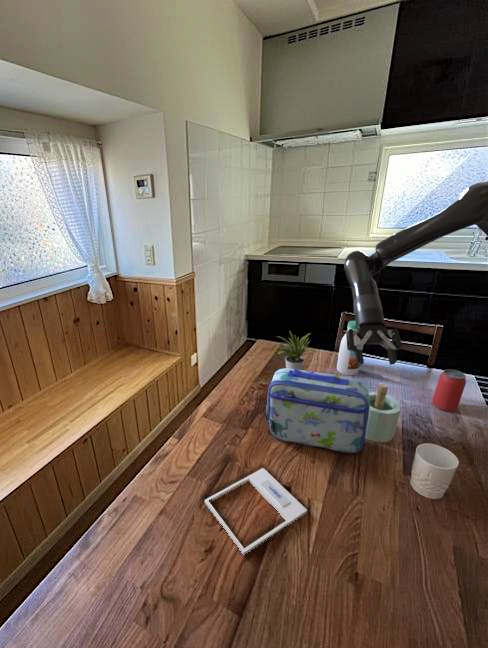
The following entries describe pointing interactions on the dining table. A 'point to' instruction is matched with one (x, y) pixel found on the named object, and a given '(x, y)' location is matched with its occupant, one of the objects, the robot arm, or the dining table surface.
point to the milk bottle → (348, 354)
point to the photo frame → (273, 494)
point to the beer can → (449, 390)
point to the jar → (382, 419)
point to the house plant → (294, 352)
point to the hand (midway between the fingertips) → (377, 363)
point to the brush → (380, 396)
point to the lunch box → (318, 410)
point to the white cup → (432, 470)
